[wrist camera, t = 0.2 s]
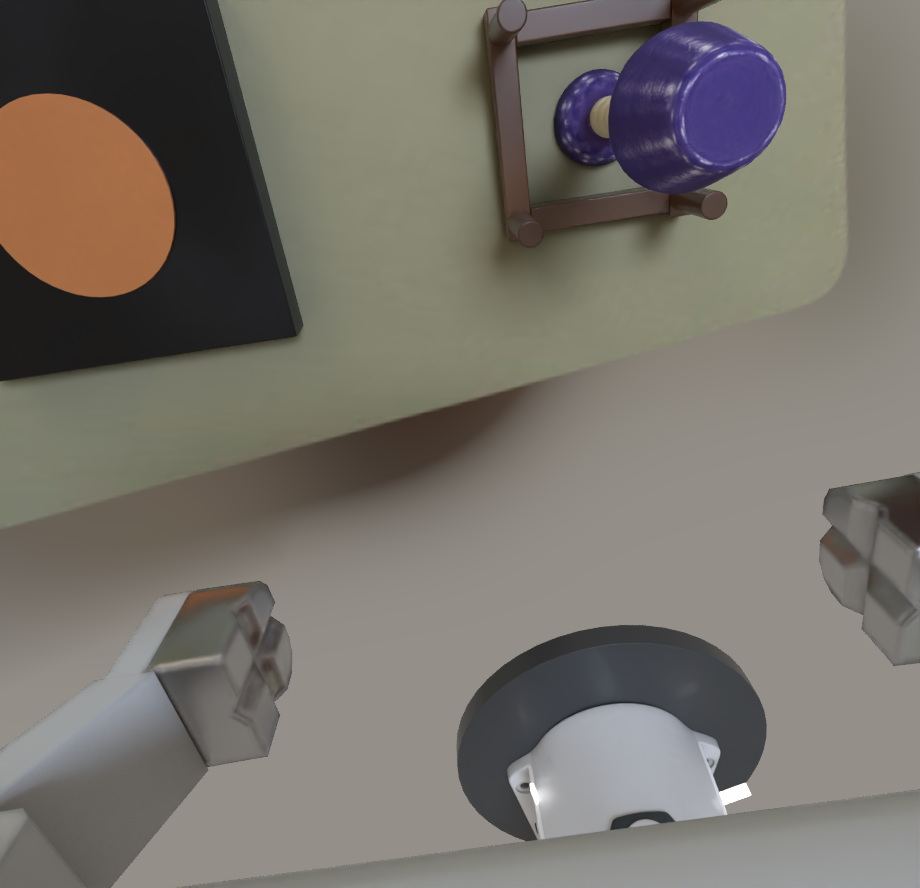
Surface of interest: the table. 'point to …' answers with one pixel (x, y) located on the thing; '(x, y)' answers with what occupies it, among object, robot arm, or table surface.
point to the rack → (506, 27)
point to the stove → (129, 189)
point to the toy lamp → (676, 109)
